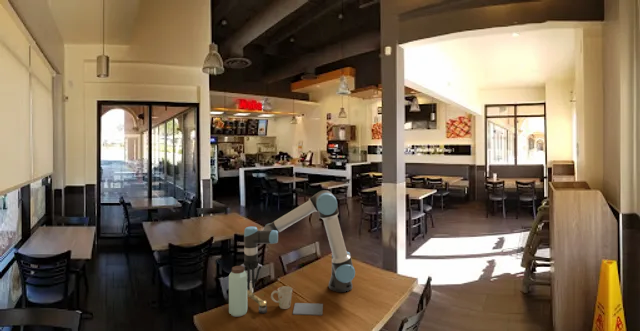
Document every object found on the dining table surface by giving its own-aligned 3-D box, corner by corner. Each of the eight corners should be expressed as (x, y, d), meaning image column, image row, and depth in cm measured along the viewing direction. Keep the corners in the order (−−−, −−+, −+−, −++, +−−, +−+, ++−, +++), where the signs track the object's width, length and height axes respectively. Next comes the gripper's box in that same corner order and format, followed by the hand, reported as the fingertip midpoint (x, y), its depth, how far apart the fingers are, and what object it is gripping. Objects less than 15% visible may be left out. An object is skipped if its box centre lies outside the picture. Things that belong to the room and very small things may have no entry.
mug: (289, 310, 191) (289, 293, 190) (268, 308, 193) (268, 291, 193) (294, 303, 199) (294, 286, 198) (273, 301, 201) (273, 284, 201)
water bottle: (231, 319, 181) (230, 272, 179) (226, 310, 190) (226, 266, 188) (250, 315, 186) (249, 269, 184) (244, 306, 195) (244, 263, 193)
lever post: (267, 309, 192) (267, 304, 191) (266, 313, 187) (266, 308, 187) (259, 309, 192) (259, 304, 192) (258, 313, 187) (258, 308, 187)
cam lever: (245, 290, 209) (245, 285, 208) (268, 306, 189) (268, 301, 189) (239, 292, 206) (239, 287, 206) (261, 309, 186) (261, 303, 186)
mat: (323, 304, 198) (323, 303, 198) (322, 315, 186) (322, 314, 186) (295, 303, 199) (295, 302, 199) (292, 314, 187) (292, 313, 187)
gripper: (263, 251, 206) (263, 290, 207) (241, 251, 206) (242, 289, 208) (260, 255, 198) (261, 296, 200) (238, 255, 199) (238, 295, 200)
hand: (251, 292), depth 204 cm, fingers closed
